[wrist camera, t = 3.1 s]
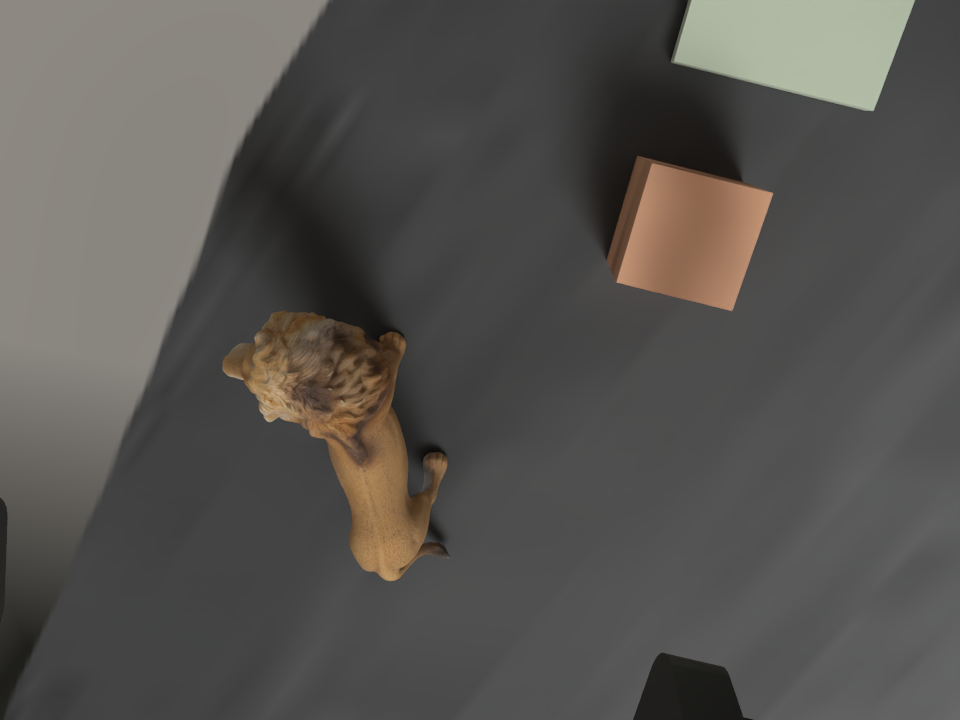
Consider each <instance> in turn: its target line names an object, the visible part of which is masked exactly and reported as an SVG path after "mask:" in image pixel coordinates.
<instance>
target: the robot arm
mask: <svg viewBox="0 0 960 720" xmlns="http://www.w3.org/2000/svg"><path fill="white" fill-rule="evenodd" d="M6 543H7V508H6V505H5V503H4V501H3V500H2V499H1V498H0V621H1V618H2V614H3V610H4V599H5V570H6ZM633 720H752V719H748V718H744V717H743V715H742V712H741V709H740V706H739V703H738V700H737V697H736V694H735V691H734V688H733V685H732V682H731V679H730V677H729V674H728V672H727V671H726V669H725V668H724V667H721V666H717V665H713V664H709V663H704V662H700V661H696V660H691V659H687V658H683V657H678V656H674V655H670V654H665V653H661V654H659V655H658V656H657V658H656V659H655V661H654V663H653V665H652V668H651V670H650V673H649V676H648V679H647V682H646V685H645V688H644V690H643V693H642V696H641V699H640V702H639V705H638V707H637V710H636V713H635V716H634V719H633Z"/></svg>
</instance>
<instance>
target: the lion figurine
mask: <svg viewBox="0 0 960 720" xmlns="http://www.w3.org/2000/svg"><path fill="white" fill-rule="evenodd" d="M405 348H406V341H405V338H404V337H403V336H401V335H400V334H398V333H395V332H388V333H386V334H385V335H382V336H380V339H379V343H378V342H377V341H375V340H373V339H368V338H366V336H365V332H364V331H363V329H361V328H360V327H356V326H352V325H349V324H346V323H344V322H337V321H335V320H333V319H326V318H325V316H319V315H317V314H315V313H313V312H312V313H307V312H299V313H294V312H289V311H281V312H274V313H272V314H271V317H270V319H269V321H268V322H266V323H265V325H264V326H263V327H262V330H261V331H259V332H257V334H256V336H255V343H254V344H250V343H241V344H238V345H237V346H235V347H234V348H233V349H232V350H231V352H230V353H229V354H228V355H227V356H226V357H225V358H224V361H223V370H224V372H225V373H226V374H227V375H228V376H230V377H235V378H238V379H241V380H244V382H245V384H246V386H247V387H248V388H249V390H250V391H251V392H252V393H254V394H256V397H257V399H258V400H259V410H260V412H261V413H262V414H263V415H264V418H265V419H266V420H267V421H268V422H272V421H274V420H275V419H276V418H278V417H280V418H282V419H283V420H285V421H291V422H295V423H299V424H300V425H301V426H302V427H303V428H305V429H308V430H309V433H310V435H311V436H312V437H316V438H324V439H325V440H326V441H327V445H328V450H329V454H330V458H331V461H332V464H333V466H334V469H335V471H336V474H337V476H338V479H339V481H340V483H341V485H342V487H343V489H344V491H345V493H346V496H347V498H348V501H349V504H350V508H351V512H352V526H351V531H350V537H349V539H350V547H351V550H352V552H353V555H354V556H355V558H356V560H357V561H358V563H359V564H360V566H361V567H362V568H363V569H364V570H366V571H375V572H377V573H378V574H379V575H380V576H381V577H382V578H383V579H385V580H388V581H394V580H397V579H399V578H400V577H401V576H402V575H403V574H404V572H405V571H406V570H407V569H408V567H409V566H410V565H411V564H412V563H413V562H414V561H415V560H416V559H417V558H418V557H420V556H423V555H433V556H435V557H441V558H443V559H448V558H450V555H449V554H448V552H447V550H446V548H445V546H444V545H442V544H439V543H432V542H428V543H425V544H422V543H423V541H424V539H425V537H426V534H427V530H428V525H429V519H430V510H431V505H432V504H433V503H434V501H435V499H436V496H437V491H438V487H439V484H440V481H441V479H442V477H443V476H444V474H445V471H446V468H447V463H448V462H447V457H446V456H445V455H444V454H442V453H441V452H432V453H428V454H427V455H426V456H425V457H424V460H423V470H424V484H423V488H422V490H421V491H420V492H419V493H417V494H415V495H413V496H412V497H410V496H409V495H408V487H407V483H408V456H407V450H406V445H405V441H404V437H403V433H402V430H401V426H400V424H399V421H398V418H397V416H396V413H395V411H394V409H393V408H392V406H391V402H392V400H393V396H394V389H395V382H396V376H397V372H398V366H399V363H400V361H401V359H402V357H403V354H404V352H405Z"/></svg>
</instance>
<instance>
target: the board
mask: <svg viewBox="0 0 960 720" xmlns="http://www.w3.org/2000/svg"><path fill="white" fill-rule="evenodd" d="M914 1H915V0H688V4H687V7H686V10H685V14H684V17H683V21H682V24H681V28H680V31H679V35H678V38H677V41H676V45H675V48H674V52H673V55H672V59H671V62H670V63H674V64H679V65H683V66H687V67H691V68H695V69H699V70H703V71H707V72H711V73H715V74H719V75H723V76H727V77H731V78H735V79H739V80H743V81H747V82H751V83H755V84H759V85H764V86H768V87H772V88H776V89H780V90H784V91H788V92H792V93H796V94H800V95H804V96H808V97H812V98H816V99H820V100H824V101H828V102H832V103H836V104H840V105H845V106H849V107H853V108H857V109H861V110H865V111H874V108H875V106H876V103H877V100H878V98H879V95H880V92H881V90H882V87H883V84H884V82H885V79H886V76H887V74H888V71H889V68H890V66H891V63H892V60H893V57H894V55H895V52H896V49H897V47H898V44H899V41H900V39H901V36H902V33H903V31H904V28H905V25H906V23H907V20H908V17H909V15H910V12H911V9H912V7H913V4H914Z"/></svg>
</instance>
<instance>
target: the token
mask: <svg viewBox="0 0 960 720" xmlns="http://www.w3.org/2000/svg"><path fill="white" fill-rule="evenodd" d="M772 196H773V193H771V192H769V191H766V190H763V189H760V188H758V187H755V186H752V185H750V184H747V183H744V182H741V181H737V180H733V179H729V178H725V177H721V176H717V175H713V174H709V173H705V172H701V171H697V170H693V169H689V168H685V167H681V166H677V165H673V164H669V163H665V162H661V161H657V160H653V159H649V158H645V157H641V156H637V158H636V161H635V164H634V168H633V171H632V175H631V178H630V182H629V185H628V189H627V192H626V195H625V199H624V202H623V206H622V209H621V213H620V216H619V219H618V223H617V226H616V230H615V233H614V237H613V240H612V243H611V247H610V250H609V254H608V257H607V263H608V265H609V267H610V269H611V271H612V274H613V276H614V278H615V280H616V282H617V283H621V284H625V285H629V286H633V287H637V288H641V289H645V290H649V291H653V292H657V293H661V294H665V295H669V296H673V297H678V298H682V299H686V300H690V301H694V302H698V303H702V304H706V305H710V306H714V307H718V308H722V309H726V310H730V311H732V310H733V307H734V304H735V301H736V298H737V295H738V293H739V290H740V287H741V284H742V281H743V278H744V276H745V273H746V270H747V267H748V264H749V261H750V258H751V256H752V253H753V250H754V247H755V244H756V241H757V238H758V236H759V233H760V230H761V227H762V224H763V221H764V218H765V216H766V213H767V210H768V207H769V204H770V201H771V198H772Z"/></svg>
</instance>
